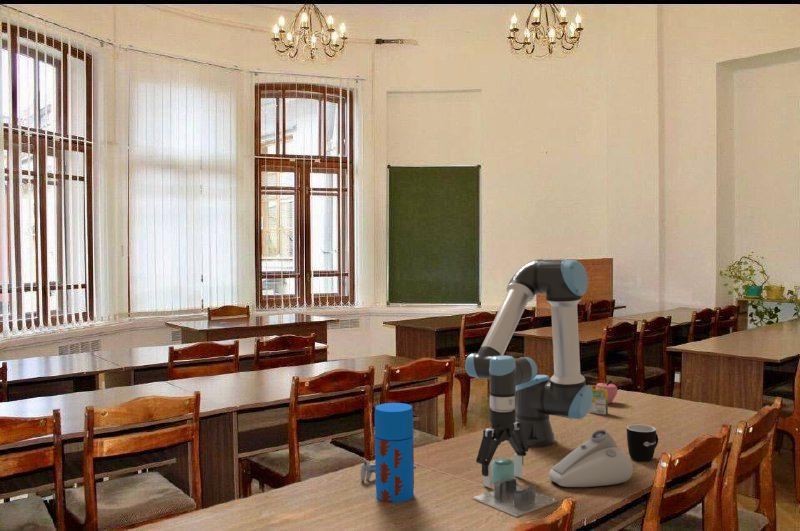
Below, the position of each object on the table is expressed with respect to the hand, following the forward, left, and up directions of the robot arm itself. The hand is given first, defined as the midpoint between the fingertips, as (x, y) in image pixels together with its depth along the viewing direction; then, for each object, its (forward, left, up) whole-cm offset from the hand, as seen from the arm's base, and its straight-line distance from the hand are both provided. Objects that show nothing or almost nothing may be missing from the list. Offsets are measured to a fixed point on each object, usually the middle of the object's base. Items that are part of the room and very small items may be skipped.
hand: (503, 481), depth 201 cm
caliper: (-27, -22, -1) cm, 35 cm away
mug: (+14, +51, 0) cm, 53 cm away
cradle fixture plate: (+12, -8, 0) cm, 14 cm away
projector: (+15, +20, -1) cm, 25 cm away
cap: (0, 0, 0) cm, 0 cm away
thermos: (-12, -31, 0) cm, 33 cm away
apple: (-39, +105, 0) cm, 112 cm away
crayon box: (-31, +88, 0) cm, 93 cm away
